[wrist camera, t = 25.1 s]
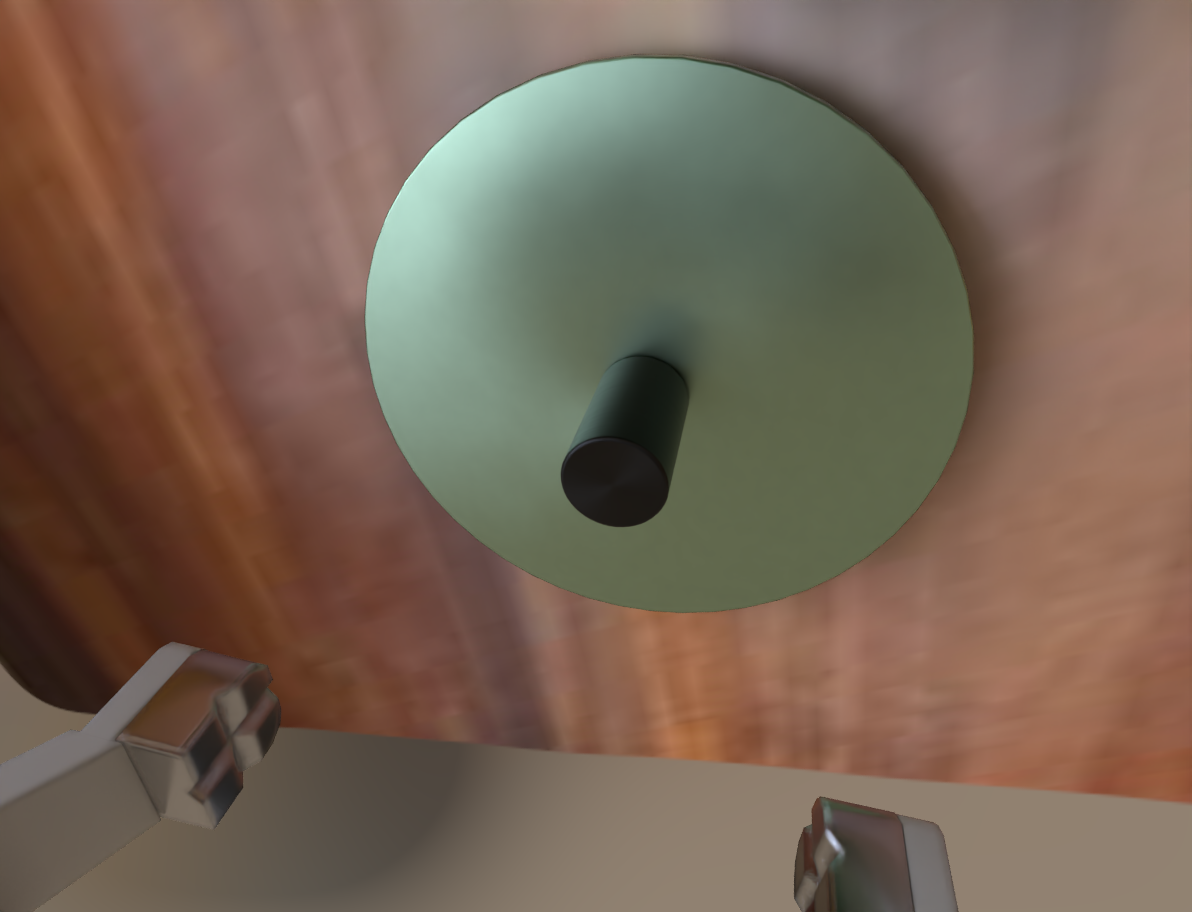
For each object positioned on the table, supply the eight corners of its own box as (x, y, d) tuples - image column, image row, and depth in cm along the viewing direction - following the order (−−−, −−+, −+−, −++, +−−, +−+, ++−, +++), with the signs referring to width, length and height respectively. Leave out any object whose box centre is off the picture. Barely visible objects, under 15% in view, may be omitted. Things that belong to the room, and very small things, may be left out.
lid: (347, 21, 16) (197, 35, 12) (1083, 88, 14) (1209, 134, 10) (407, 539, 25) (333, 649, 21) (864, 631, 23) (881, 776, 19)
